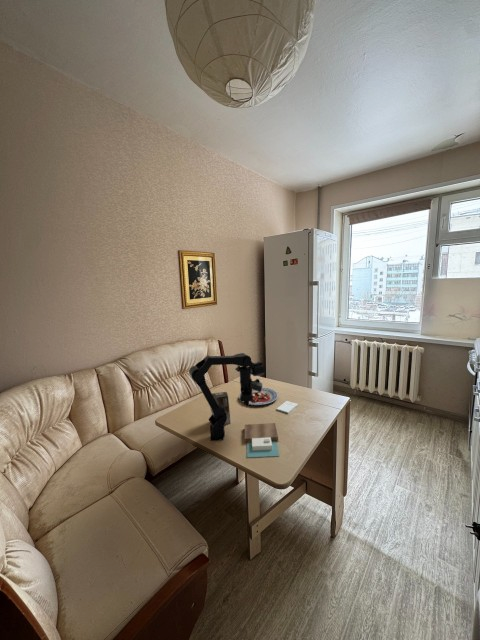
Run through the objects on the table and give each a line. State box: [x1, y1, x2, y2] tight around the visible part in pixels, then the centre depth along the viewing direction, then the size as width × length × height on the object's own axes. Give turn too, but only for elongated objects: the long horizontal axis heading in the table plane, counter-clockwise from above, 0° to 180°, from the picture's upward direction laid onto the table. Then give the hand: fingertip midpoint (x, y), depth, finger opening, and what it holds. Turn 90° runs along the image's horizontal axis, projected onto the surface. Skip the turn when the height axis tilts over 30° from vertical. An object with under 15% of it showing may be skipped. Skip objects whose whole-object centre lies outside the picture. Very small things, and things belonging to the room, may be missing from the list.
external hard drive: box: [275, 400, 299, 415], centre depth 147 cm, size 2×8×12 cm
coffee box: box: [212, 391, 232, 425], centre depth 136 cm, size 9×6×16 cm
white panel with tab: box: [252, 437, 272, 450], centre depth 113 cm, size 9×6×3 cm, turn 89°
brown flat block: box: [244, 422, 279, 444], centre depth 122 cm, size 16×12×2 cm
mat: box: [246, 441, 280, 459], centre depth 111 cm, size 14×10×1 cm
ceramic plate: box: [238, 387, 279, 406], centre depth 163 cm, size 26×26×3 cm
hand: (247, 406), depth 128 cm, fingers closed
